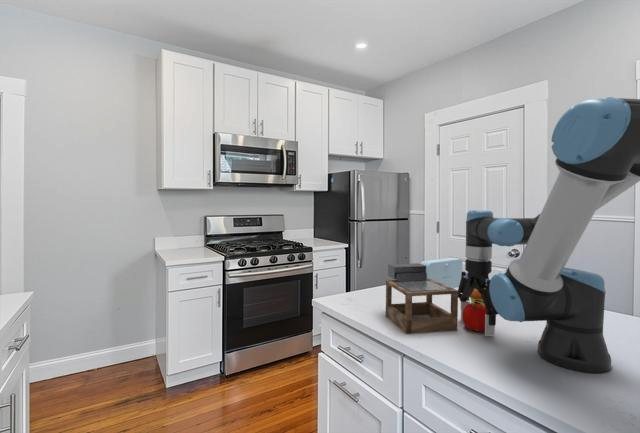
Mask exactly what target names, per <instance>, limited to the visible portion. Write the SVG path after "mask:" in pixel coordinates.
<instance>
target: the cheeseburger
mask: <svg viewBox="0 0 640 433" xmlns="http://www.w3.org/2000/svg"><path fill="white" fill-rule="evenodd" d="M485 289H486V288H485ZM469 300H470V301H471V302H470V303H471V304H472V305H474V304H475V305H476V304H481V305H484V306H485V304H484V302H483V299H482V296H481V294H480V293H479V292H478V290H477V289H474V291H473V292H472V294H471V296H470V298H469Z"/></svg>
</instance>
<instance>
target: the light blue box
mask: <svg viewBox="0 0 640 433" xmlns="http://www.w3.org/2000/svg"><path fill="white" fill-rule="evenodd" d="M420 264H422V265H425V266H426V273H427V279H432V280H435V281H437V282H439V283H442V284H444V285H446V286H449V287H451V288H453V289H456V288H459V284H460V281H461V273H462V272H463V259H461V258H457V257H447V258H439V259H431V260H430V259H429V260H422V261H421V263H420Z"/></svg>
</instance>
